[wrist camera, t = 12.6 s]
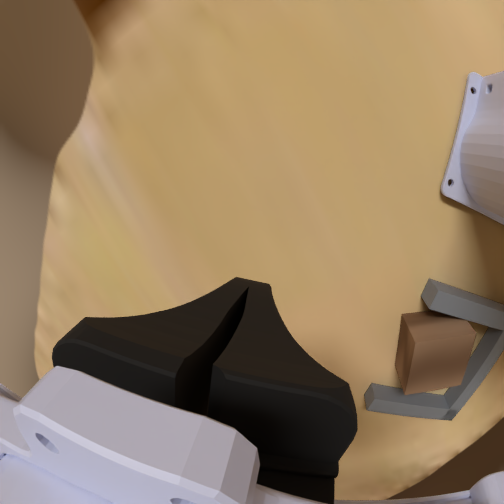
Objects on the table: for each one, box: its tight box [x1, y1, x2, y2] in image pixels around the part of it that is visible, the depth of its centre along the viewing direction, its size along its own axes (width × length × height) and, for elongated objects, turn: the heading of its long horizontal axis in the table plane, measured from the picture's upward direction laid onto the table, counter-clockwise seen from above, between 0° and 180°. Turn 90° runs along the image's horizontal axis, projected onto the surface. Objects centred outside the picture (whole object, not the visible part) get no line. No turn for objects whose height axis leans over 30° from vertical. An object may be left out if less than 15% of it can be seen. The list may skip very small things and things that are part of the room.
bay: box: [364, 279, 504, 420], centre depth 21 cm, size 12×10×2 cm
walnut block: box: [395, 310, 476, 395], centre depth 20 cm, size 5×5×4 cm
